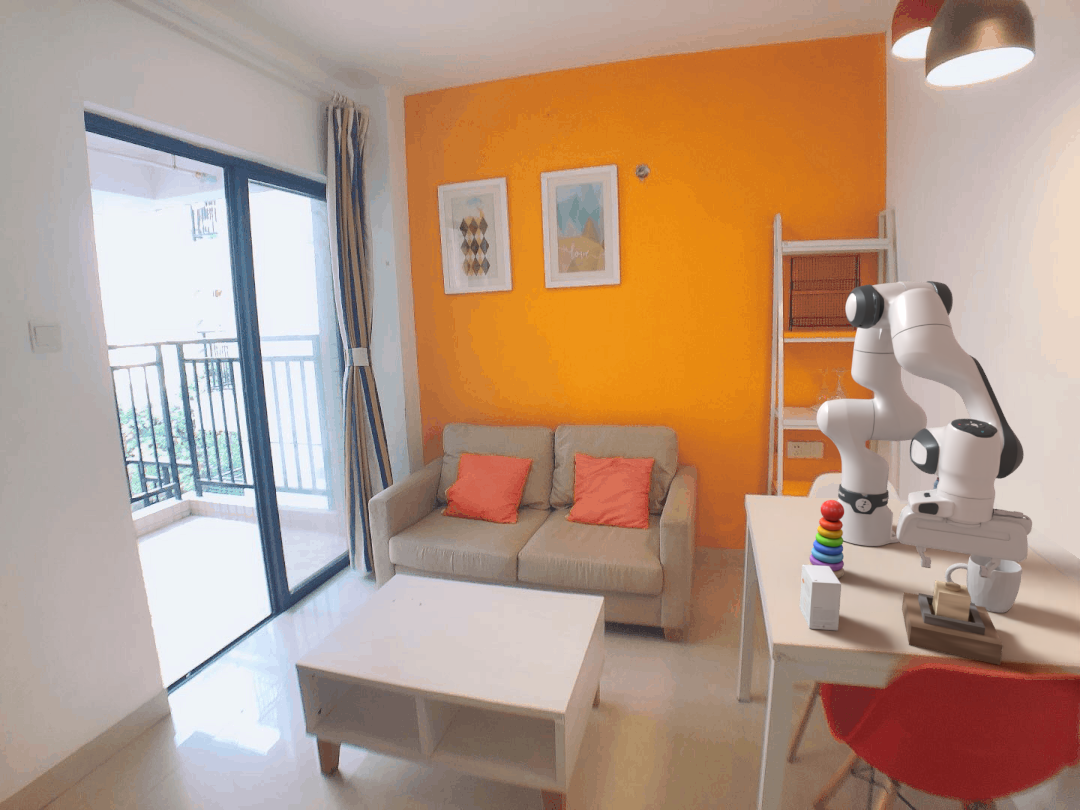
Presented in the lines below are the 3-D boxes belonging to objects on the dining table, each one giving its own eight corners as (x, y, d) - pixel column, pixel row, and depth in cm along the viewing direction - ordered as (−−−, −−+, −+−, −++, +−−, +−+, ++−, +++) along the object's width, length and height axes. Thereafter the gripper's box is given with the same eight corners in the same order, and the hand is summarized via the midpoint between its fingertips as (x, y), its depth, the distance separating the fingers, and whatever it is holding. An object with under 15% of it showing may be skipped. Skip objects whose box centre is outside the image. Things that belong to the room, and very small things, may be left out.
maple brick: (932, 607, 114) (935, 576, 112) (962, 613, 111) (966, 581, 110) (935, 619, 109) (939, 588, 108) (967, 626, 107) (971, 593, 106)
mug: (1013, 601, 122) (1020, 559, 120) (1018, 621, 115) (1025, 576, 113) (942, 585, 129) (947, 545, 127) (942, 603, 122) (948, 561, 120)
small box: (838, 631, 113) (842, 584, 111) (808, 629, 114) (812, 582, 112) (826, 610, 121) (830, 565, 119) (798, 608, 122) (801, 563, 120)
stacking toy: (809, 577, 134) (814, 504, 131) (806, 562, 142) (811, 493, 138) (846, 582, 132) (852, 507, 128) (840, 567, 139) (846, 496, 136)
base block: (901, 608, 120) (904, 585, 119) (982, 625, 114) (986, 600, 113) (909, 644, 108) (911, 619, 107) (1000, 665, 102) (1004, 638, 101)
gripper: (1028, 507, 104) (1017, 575, 107) (899, 492, 113) (892, 554, 116) (1039, 520, 98) (1027, 591, 101) (902, 502, 108) (895, 568, 111)
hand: (954, 571), depth 109 cm, fingers open, 8 cm apart
